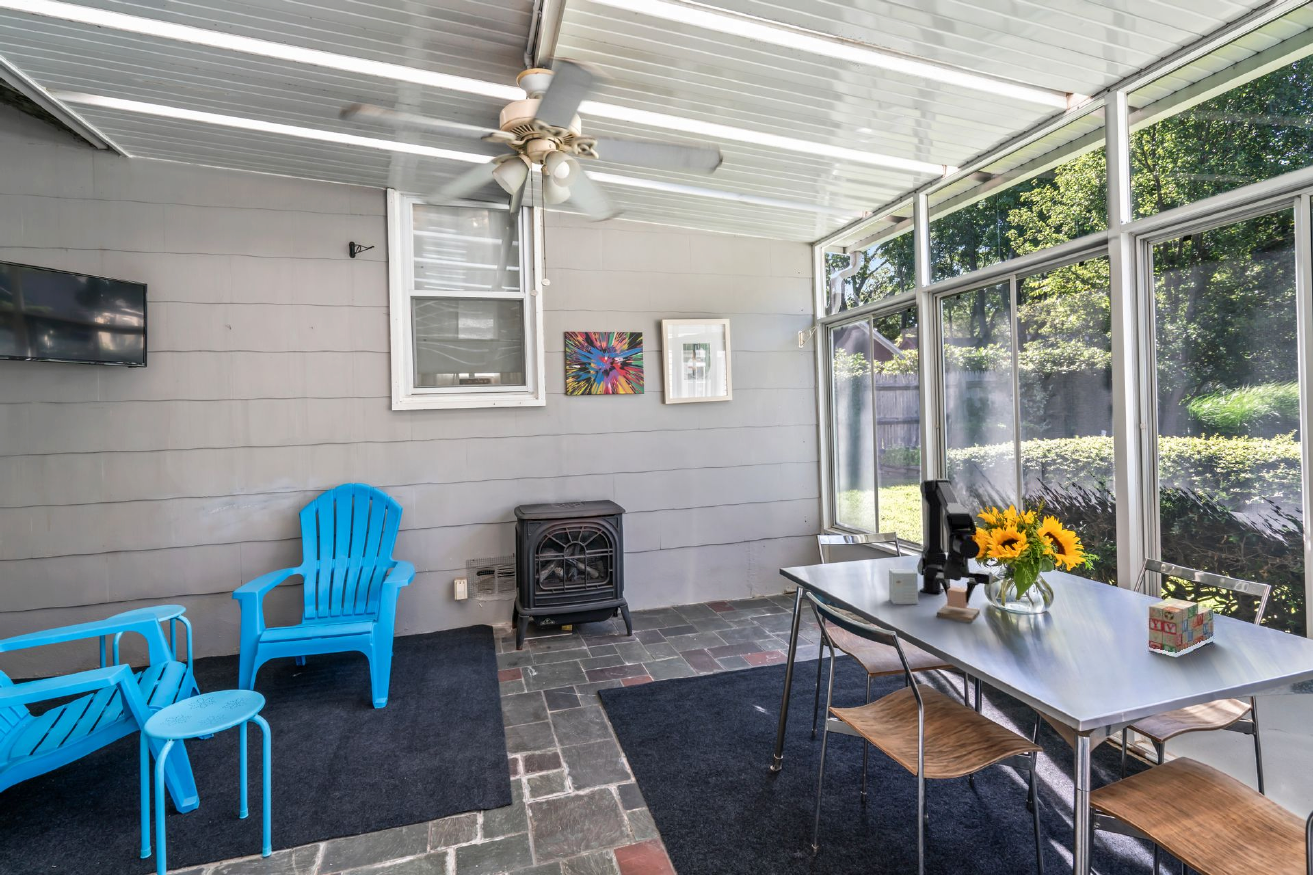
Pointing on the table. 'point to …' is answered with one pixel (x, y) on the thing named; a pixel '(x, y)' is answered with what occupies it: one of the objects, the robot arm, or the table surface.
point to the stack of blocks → (1178, 624)
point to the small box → (903, 586)
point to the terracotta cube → (957, 597)
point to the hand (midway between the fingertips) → (958, 601)
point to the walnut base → (958, 613)
